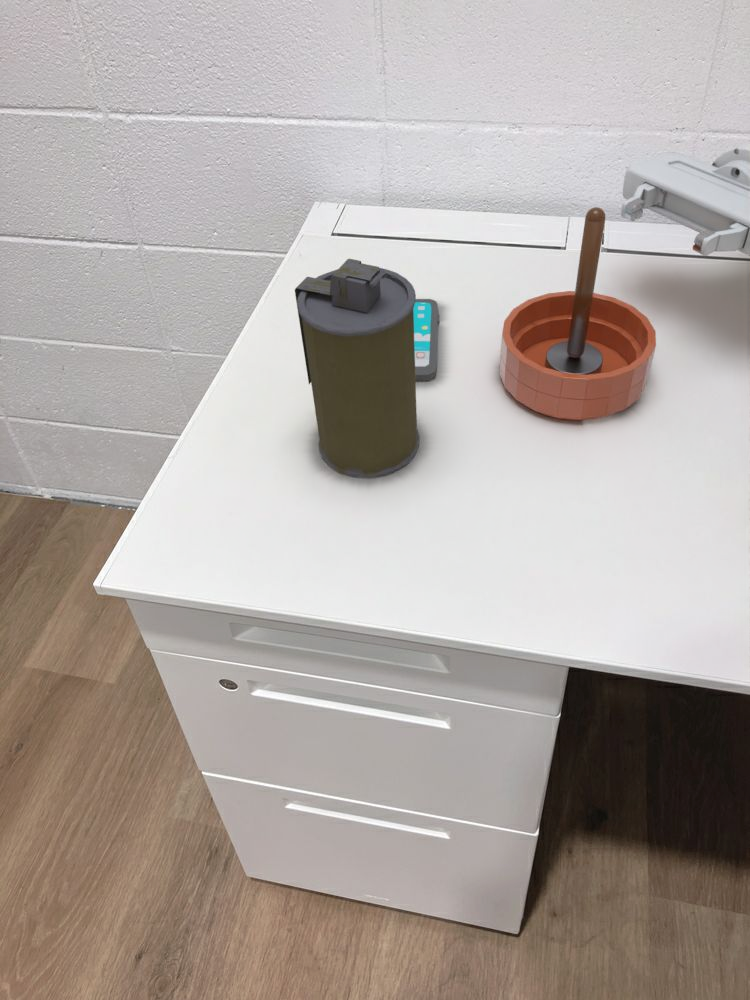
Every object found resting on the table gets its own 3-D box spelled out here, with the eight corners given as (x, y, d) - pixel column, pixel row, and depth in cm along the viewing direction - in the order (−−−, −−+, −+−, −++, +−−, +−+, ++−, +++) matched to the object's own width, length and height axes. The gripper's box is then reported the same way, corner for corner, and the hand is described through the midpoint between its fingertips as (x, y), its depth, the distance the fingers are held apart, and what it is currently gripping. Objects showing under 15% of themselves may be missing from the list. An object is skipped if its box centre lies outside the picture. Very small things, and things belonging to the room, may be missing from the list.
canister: (435, 424, 84) (434, 250, 70) (393, 490, 78) (382, 314, 63) (343, 399, 88) (324, 230, 73) (296, 460, 81) (265, 288, 67)
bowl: (662, 357, 90) (674, 311, 85) (618, 442, 81) (628, 396, 76) (531, 323, 95) (536, 279, 91) (476, 399, 86) (478, 353, 82)
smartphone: (360, 373, 89) (370, 298, 99) (361, 380, 90) (370, 305, 100) (438, 373, 88) (439, 297, 98) (438, 380, 89) (439, 304, 99)
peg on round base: (608, 363, 88) (639, 200, 74) (589, 395, 85) (617, 229, 71) (556, 349, 90) (577, 188, 77) (535, 379, 87) (553, 216, 73)
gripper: (678, 128, 90) (591, 165, 85) (845, 189, 79) (754, 237, 74) (667, 182, 95) (583, 220, 90) (823, 248, 83) (736, 297, 78)
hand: (661, 228), depth 82 cm, fingers open, 8 cm apart
